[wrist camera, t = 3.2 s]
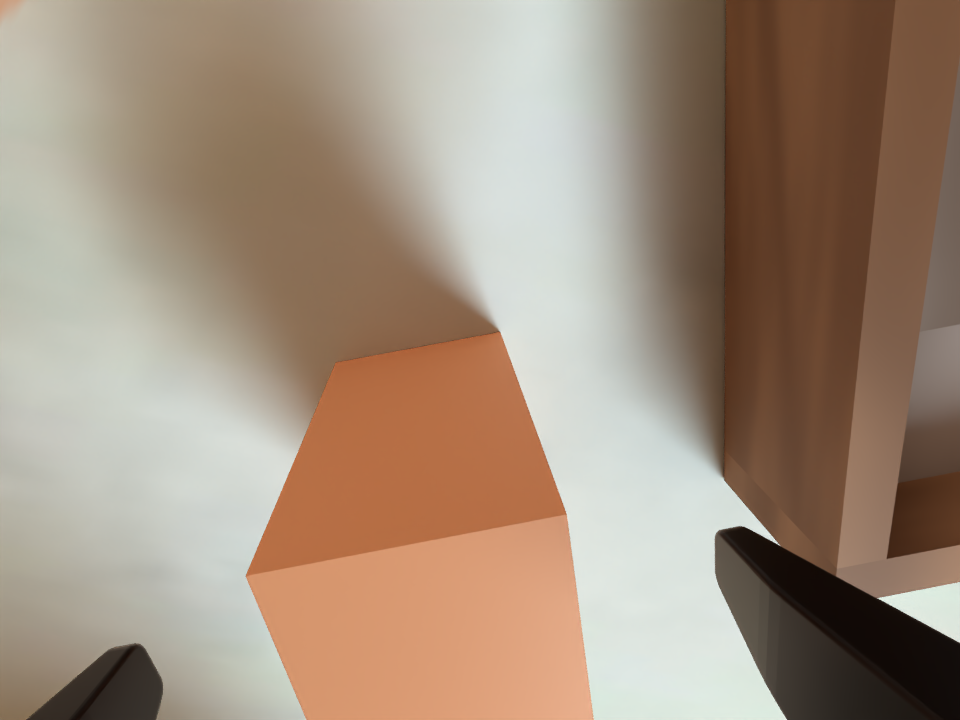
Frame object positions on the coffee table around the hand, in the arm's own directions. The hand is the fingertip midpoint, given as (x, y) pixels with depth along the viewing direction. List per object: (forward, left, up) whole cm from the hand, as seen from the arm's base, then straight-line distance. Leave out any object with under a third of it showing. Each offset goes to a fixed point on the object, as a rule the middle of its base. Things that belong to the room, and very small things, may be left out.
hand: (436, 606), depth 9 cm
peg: (0, 0, -6) cm, 6 cm away
